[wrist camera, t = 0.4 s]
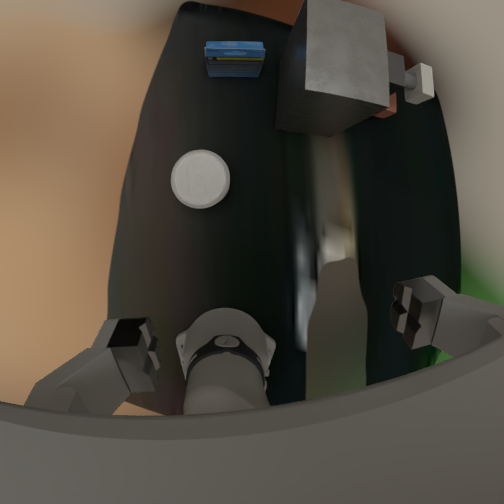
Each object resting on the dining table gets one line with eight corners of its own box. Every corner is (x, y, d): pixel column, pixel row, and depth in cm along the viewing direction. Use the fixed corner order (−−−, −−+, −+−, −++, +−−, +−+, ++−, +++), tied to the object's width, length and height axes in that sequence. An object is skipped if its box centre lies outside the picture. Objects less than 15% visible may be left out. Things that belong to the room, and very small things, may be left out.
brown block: (383, 118, 47) (396, 112, 43) (355, 111, 47) (366, 105, 42) (383, 94, 46) (395, 87, 42) (355, 87, 46) (366, 78, 41)
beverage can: (231, 159, 51) (231, 148, 39) (228, 206, 52) (228, 210, 40) (183, 158, 50) (170, 147, 38) (181, 205, 51) (167, 208, 40)
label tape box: (258, 60, 47) (266, 28, 35) (258, 79, 48) (266, 50, 36) (209, 60, 47) (204, 27, 35) (208, 79, 48) (203, 50, 36)
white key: (416, 104, 37) (434, 96, 32) (384, 94, 36) (400, 85, 31) (414, 76, 36) (431, 67, 31) (383, 66, 35) (398, 54, 31)
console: (350, 140, 51) (417, 115, 30) (275, 129, 50) (305, 89, 29) (352, 72, 49) (409, 22, 27) (279, 59, 48) (307, -7, 26)
